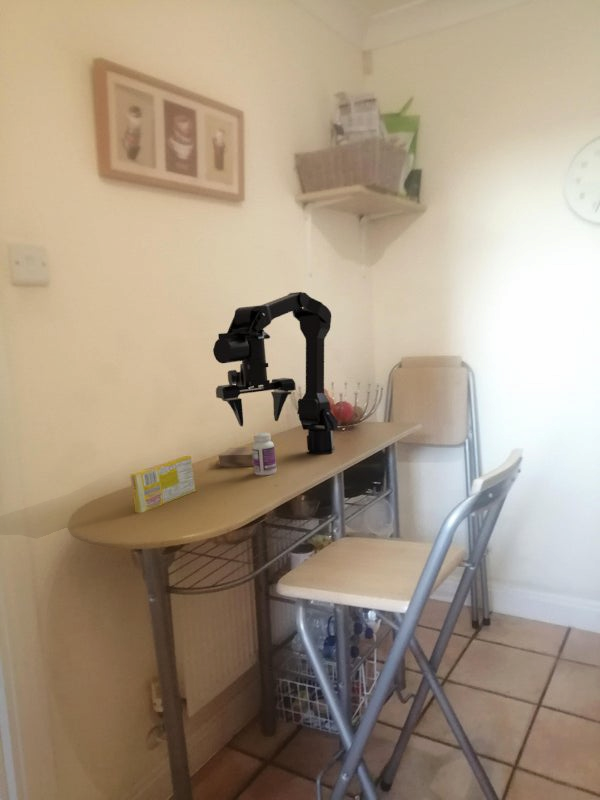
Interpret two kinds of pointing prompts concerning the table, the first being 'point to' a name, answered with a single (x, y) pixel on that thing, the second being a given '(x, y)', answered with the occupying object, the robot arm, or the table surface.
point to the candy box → (162, 483)
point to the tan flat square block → (237, 457)
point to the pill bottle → (263, 454)
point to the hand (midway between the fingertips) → (259, 423)
